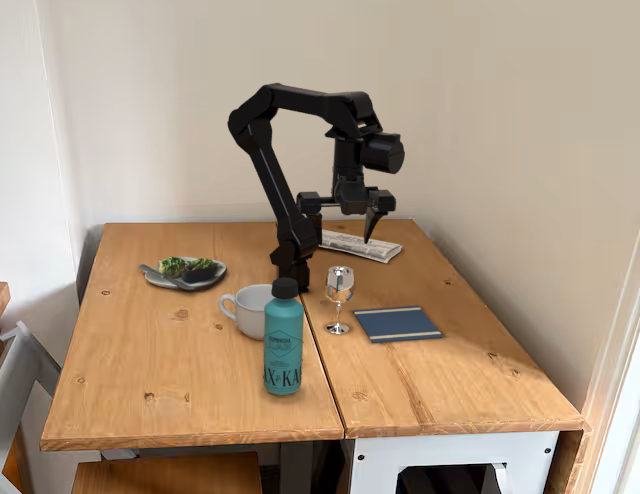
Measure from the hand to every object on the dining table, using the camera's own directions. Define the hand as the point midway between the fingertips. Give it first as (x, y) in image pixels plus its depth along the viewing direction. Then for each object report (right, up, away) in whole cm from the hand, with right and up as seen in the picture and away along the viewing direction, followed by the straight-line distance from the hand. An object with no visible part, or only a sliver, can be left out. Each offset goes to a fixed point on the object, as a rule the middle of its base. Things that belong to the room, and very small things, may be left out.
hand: (343, 244), depth 143 cm
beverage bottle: (-12, -30, -24) cm, 40 cm away
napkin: (+10, -16, -1) cm, 19 cm away
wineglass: (-1, -17, -3) cm, 18 cm away
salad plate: (-33, -4, +18) cm, 38 cm away
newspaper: (+6, +6, +35) cm, 36 cm away
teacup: (-17, -18, -5) cm, 26 cm away
